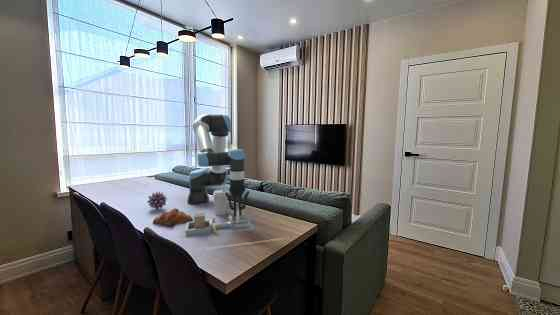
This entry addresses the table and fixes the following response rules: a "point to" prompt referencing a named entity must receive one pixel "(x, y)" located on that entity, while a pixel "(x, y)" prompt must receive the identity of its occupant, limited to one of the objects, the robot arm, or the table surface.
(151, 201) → the spiky ball
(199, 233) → the housing
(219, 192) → the coffee cup
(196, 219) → the jaw block
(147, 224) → the table surface
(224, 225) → the gate
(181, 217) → the pastry
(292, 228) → the table surface
